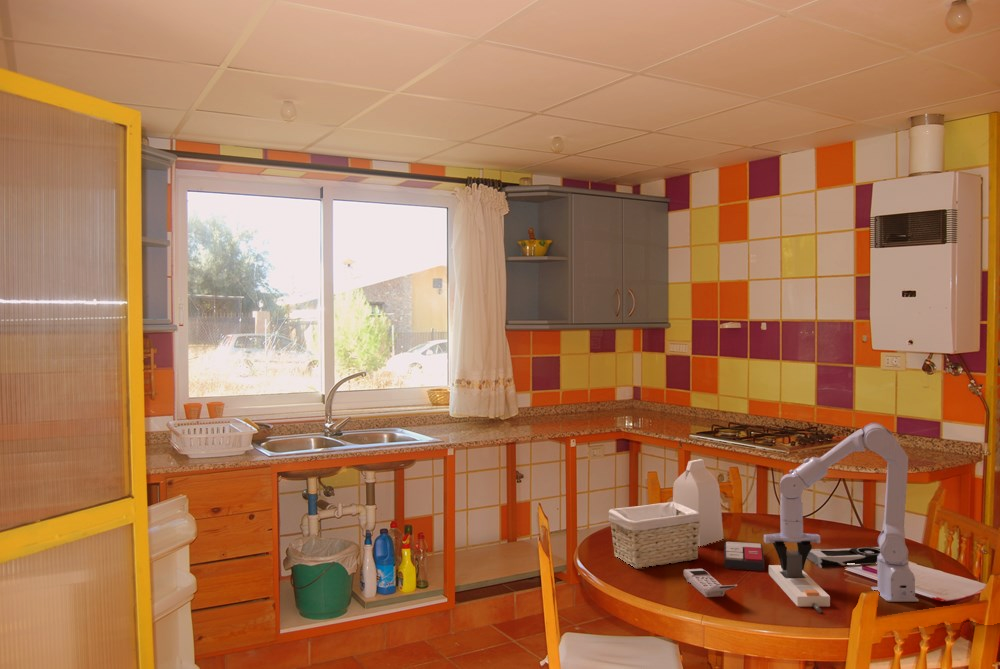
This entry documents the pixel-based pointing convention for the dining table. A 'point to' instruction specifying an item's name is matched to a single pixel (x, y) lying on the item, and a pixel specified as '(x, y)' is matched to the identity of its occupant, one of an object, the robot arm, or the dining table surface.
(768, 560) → the dining table surface
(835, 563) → the graphics card
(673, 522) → the storage basket
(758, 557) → the dark grey box
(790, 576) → the plug
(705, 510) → the milk
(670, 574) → the dining table surface
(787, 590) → the power strip
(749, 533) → the dining table surface
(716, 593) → the mobile phone
